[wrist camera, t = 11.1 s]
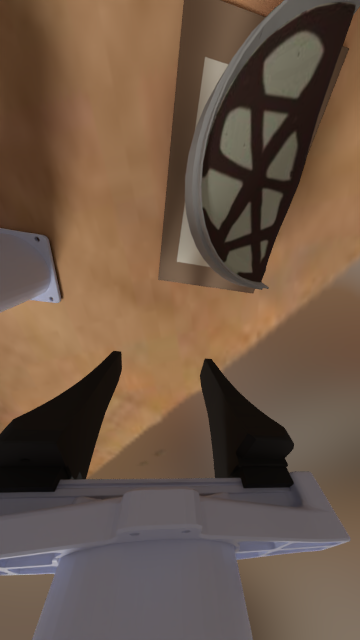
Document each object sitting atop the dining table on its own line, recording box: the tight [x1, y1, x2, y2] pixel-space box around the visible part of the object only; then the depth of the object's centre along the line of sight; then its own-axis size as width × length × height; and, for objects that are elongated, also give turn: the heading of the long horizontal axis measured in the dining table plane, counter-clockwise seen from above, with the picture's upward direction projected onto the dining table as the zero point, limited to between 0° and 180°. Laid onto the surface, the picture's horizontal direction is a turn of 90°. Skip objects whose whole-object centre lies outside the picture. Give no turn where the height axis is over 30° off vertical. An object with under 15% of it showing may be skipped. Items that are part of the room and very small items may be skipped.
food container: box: [185, 0, 360, 290], centre depth 12 cm, size 12×6×10 cm, turn 174°
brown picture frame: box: [158, 0, 349, 293], centre depth 16 cm, size 13×20×1 cm, turn 171°
